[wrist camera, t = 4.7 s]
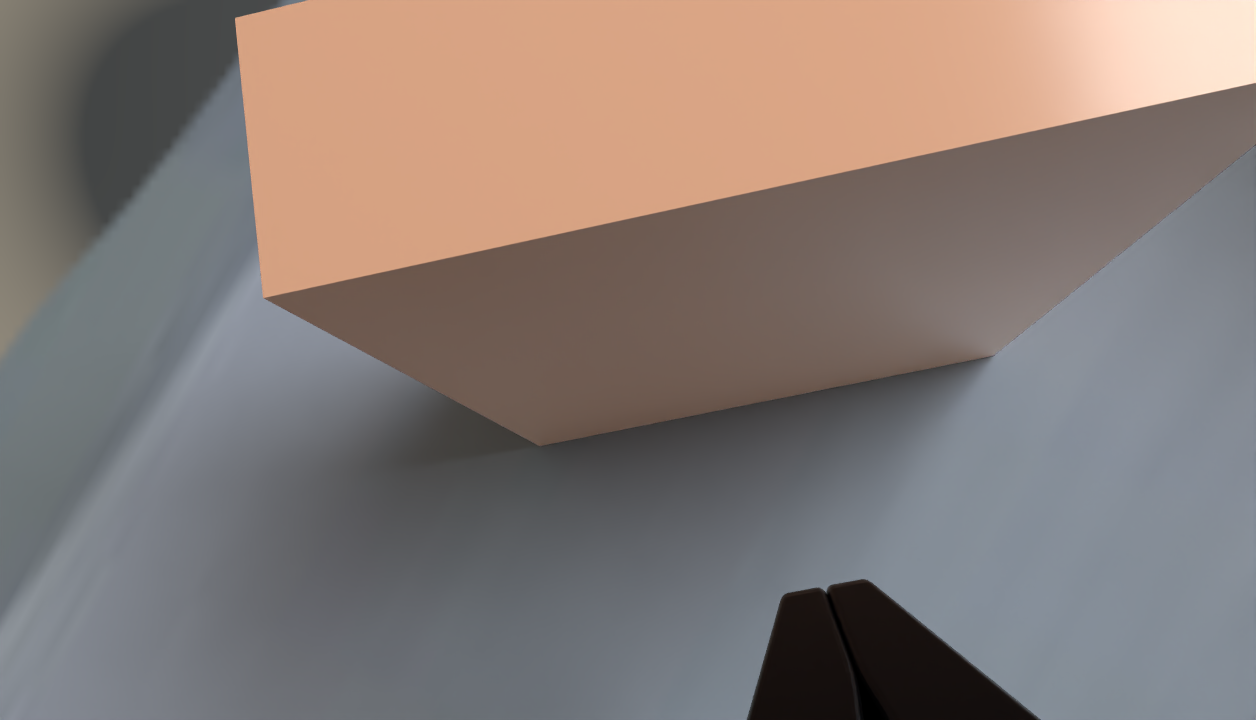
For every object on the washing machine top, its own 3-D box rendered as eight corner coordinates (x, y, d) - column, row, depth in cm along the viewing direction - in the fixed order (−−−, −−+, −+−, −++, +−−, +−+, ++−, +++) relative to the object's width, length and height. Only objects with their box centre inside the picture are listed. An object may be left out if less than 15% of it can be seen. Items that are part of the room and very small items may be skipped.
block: (993, 355, 16) (1362, 59, 7) (539, 446, 17) (263, 297, 7) (955, 215, 17) (1240, -249, 7) (517, 307, 18) (232, -4, 8)
